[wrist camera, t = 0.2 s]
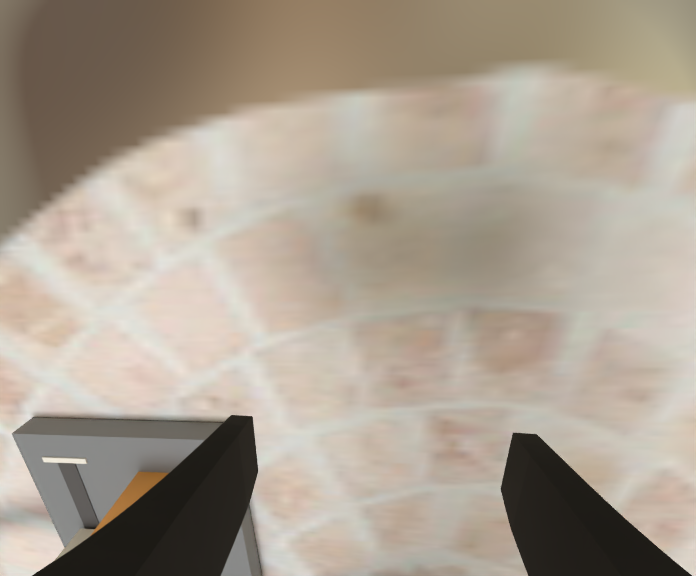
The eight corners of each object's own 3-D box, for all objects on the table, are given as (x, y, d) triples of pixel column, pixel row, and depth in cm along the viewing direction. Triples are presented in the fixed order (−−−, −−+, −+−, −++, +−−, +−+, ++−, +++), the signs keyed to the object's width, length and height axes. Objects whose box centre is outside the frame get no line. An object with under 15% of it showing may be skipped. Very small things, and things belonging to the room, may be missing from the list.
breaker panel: (266, 598, 29) (258, 630, 27) (106, 587, 30) (87, 617, 28) (233, 422, 23) (220, 448, 21) (33, 417, 24) (2, 440, 22)
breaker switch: (107, 545, 26) (74, 593, 23) (86, 543, 26) (51, 591, 23) (101, 529, 25) (66, 577, 22) (80, 528, 25) (42, 575, 22)
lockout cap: (215, 522, 24) (174, 615, 19) (153, 519, 25) (98, 610, 20) (203, 474, 23) (156, 561, 18) (138, 471, 23) (74, 556, 18)
